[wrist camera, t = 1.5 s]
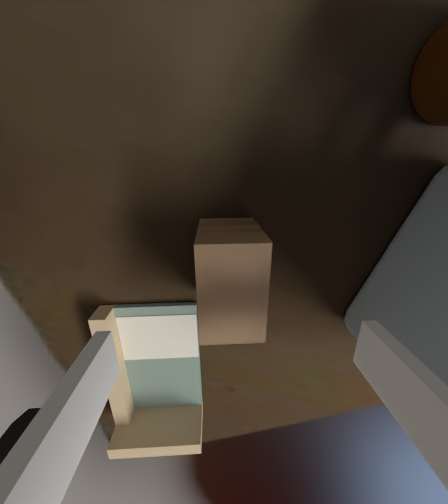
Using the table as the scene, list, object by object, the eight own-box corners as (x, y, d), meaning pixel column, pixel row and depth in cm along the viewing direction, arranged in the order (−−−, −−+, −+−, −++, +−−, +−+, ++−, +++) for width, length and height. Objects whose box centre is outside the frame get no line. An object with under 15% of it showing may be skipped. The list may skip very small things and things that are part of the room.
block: (199, 218, 21) (193, 244, 14) (252, 217, 22) (272, 243, 15) (203, 293, 24) (199, 345, 17) (250, 291, 24) (265, 342, 17)
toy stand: (99, 305, 24) (72, 339, 19) (196, 302, 24) (192, 334, 20) (125, 413, 30) (109, 459, 25) (202, 409, 30) (201, 453, 26)
